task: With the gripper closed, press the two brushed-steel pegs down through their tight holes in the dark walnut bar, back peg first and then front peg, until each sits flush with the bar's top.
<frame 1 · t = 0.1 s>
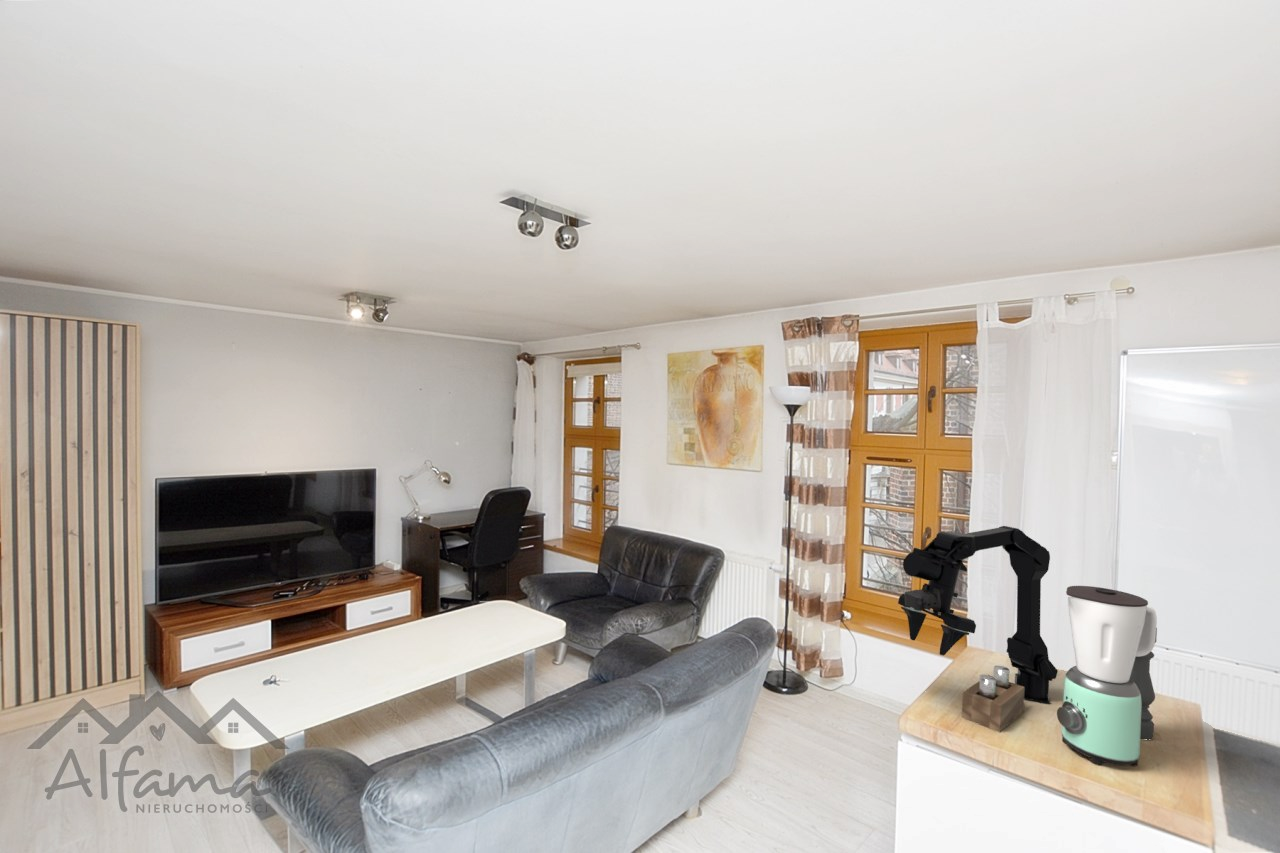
hand: (926, 647, 137), 15 cm above the worktop, tool pointing down, fingers open, 9 cm apart
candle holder: (1135, 733, 131), on the worktop
front peg: (987, 689, 134), point 7 cm above the worktop, slide at 4.0 cm
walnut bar: (993, 714, 137), on the worktop
back peg: (1001, 679, 140), point 7 cm above the worktop, slide at 4.0 cm
mint green blender: (1102, 753, 122), on the worktop
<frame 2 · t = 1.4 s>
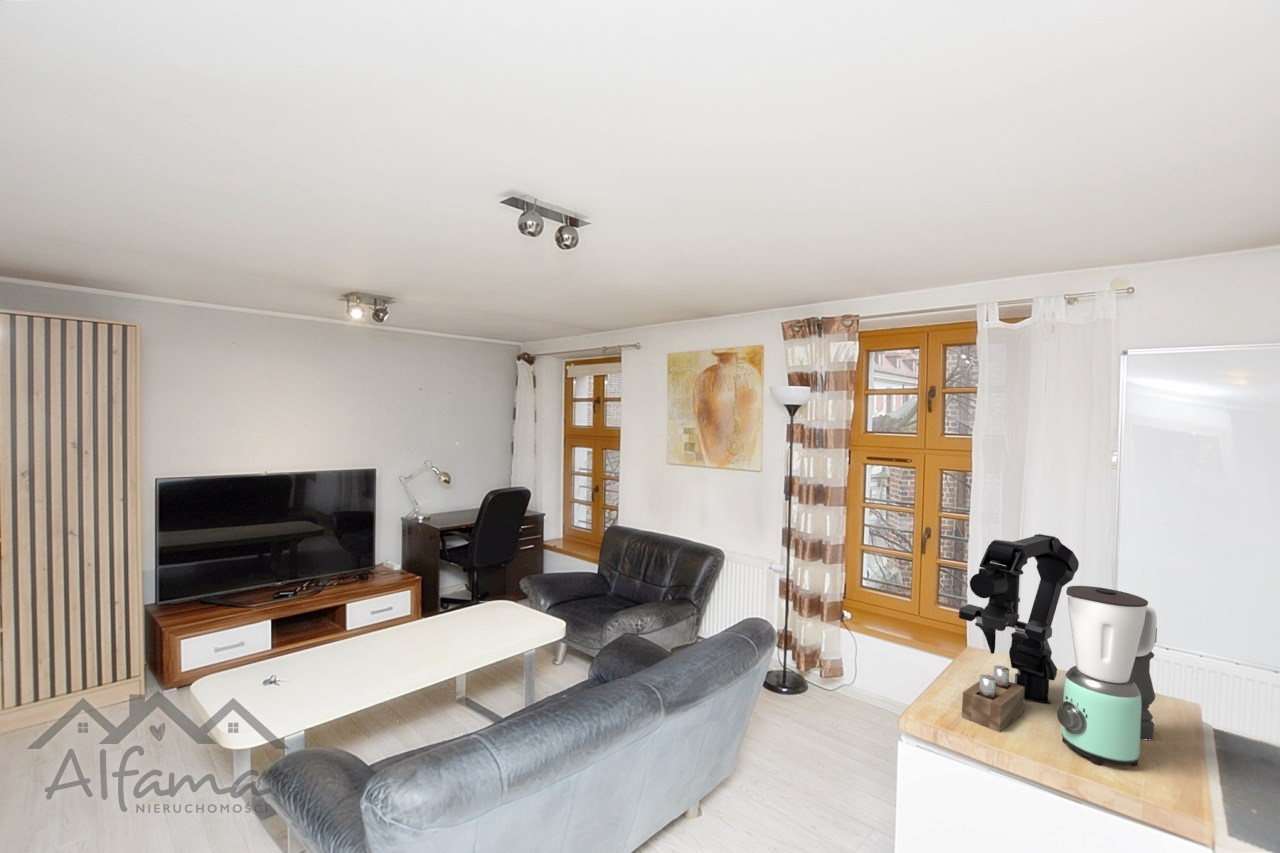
hand: (1002, 656, 140), 13 cm above the worktop, tool pointing down, fingers open, 4 cm apart
nothing on the worktop moved.
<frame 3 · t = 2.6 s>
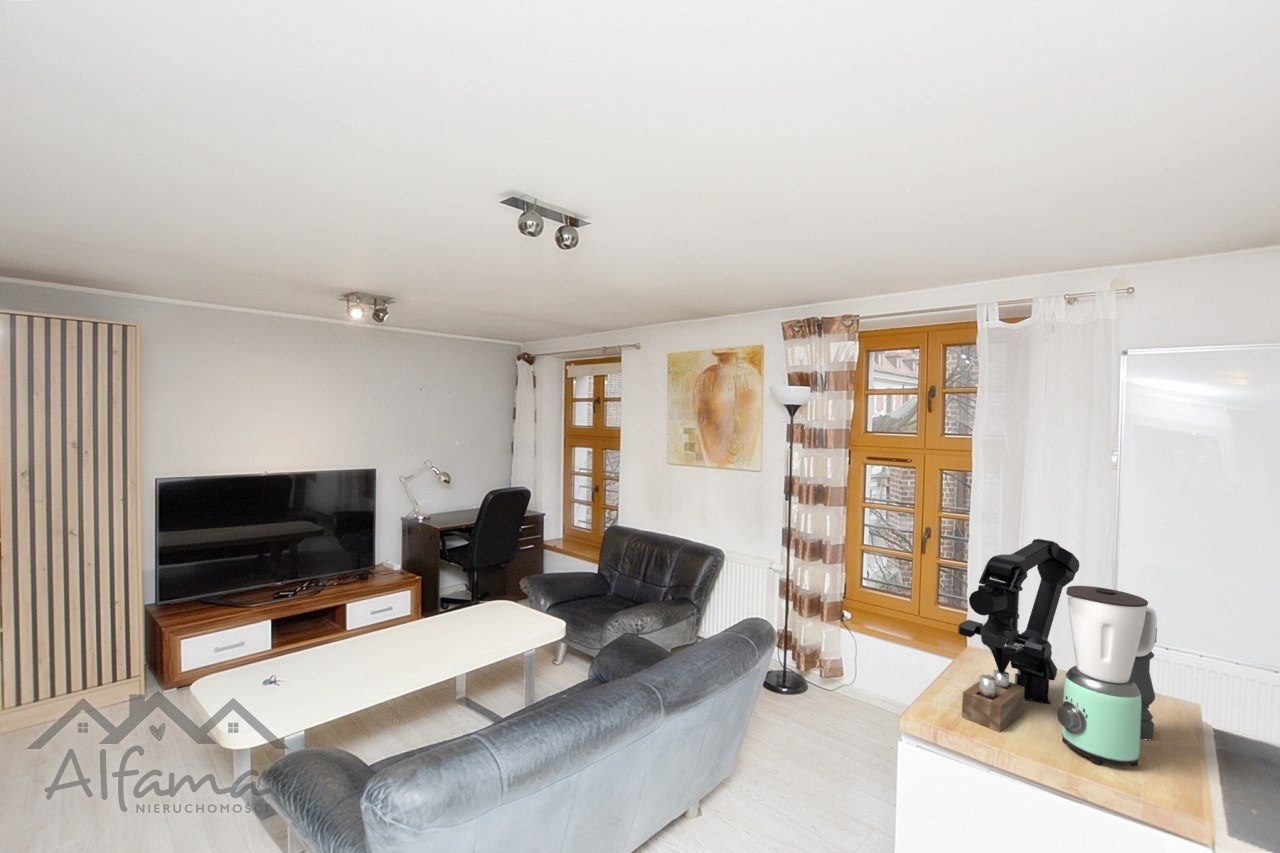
hand: (1001, 672, 140), 9 cm above the worktop, tool pointing down, fingers closed, pressing on back peg
back peg: (1000, 683, 140), point 6 cm above the worktop, slide at 2.9 cm, touching gripper
everything else where it was.
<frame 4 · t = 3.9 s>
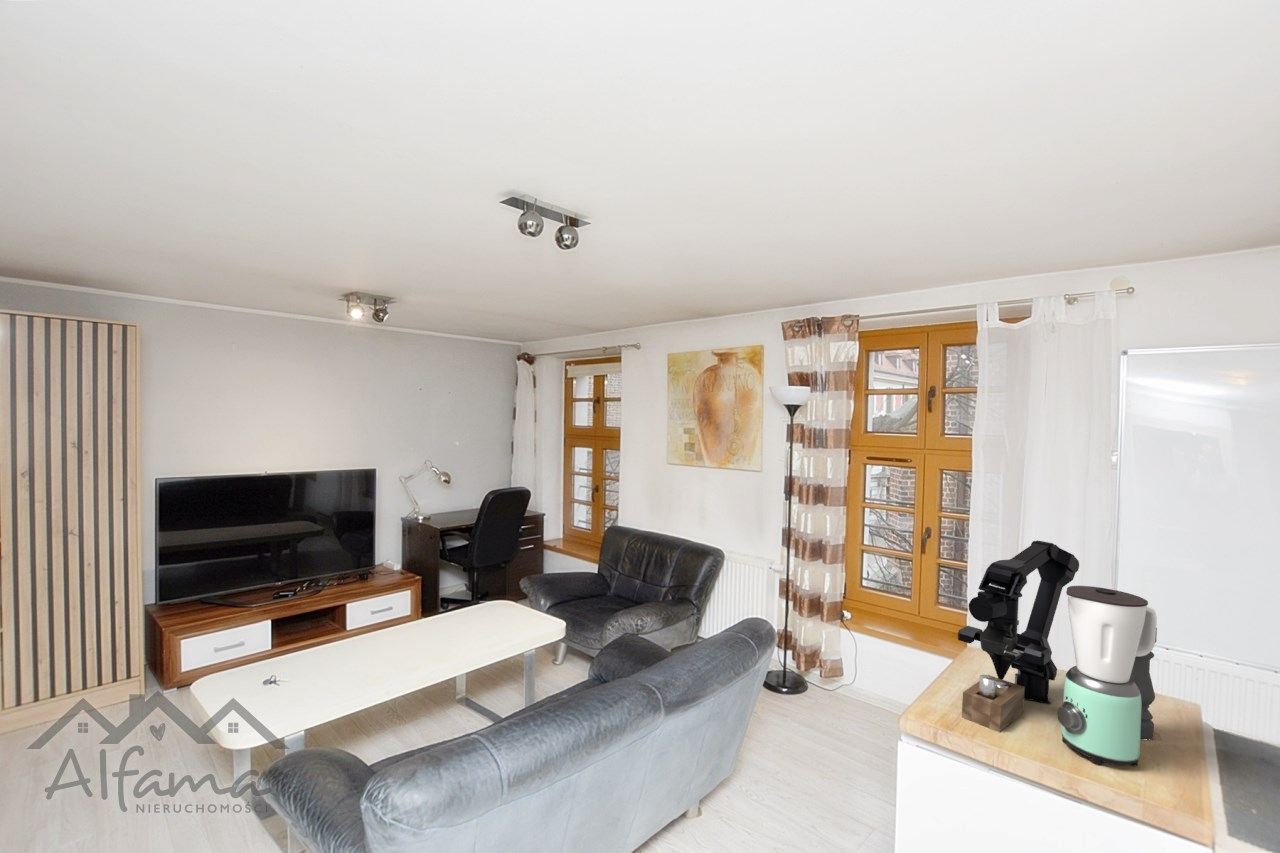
hand: (1000, 678, 140), 7 cm above the worktop, tool pointing down, fingers closed
back peg: (1000, 695, 140), point 3 cm above the worktop, slide at 0.0 cm
everything else where it was.
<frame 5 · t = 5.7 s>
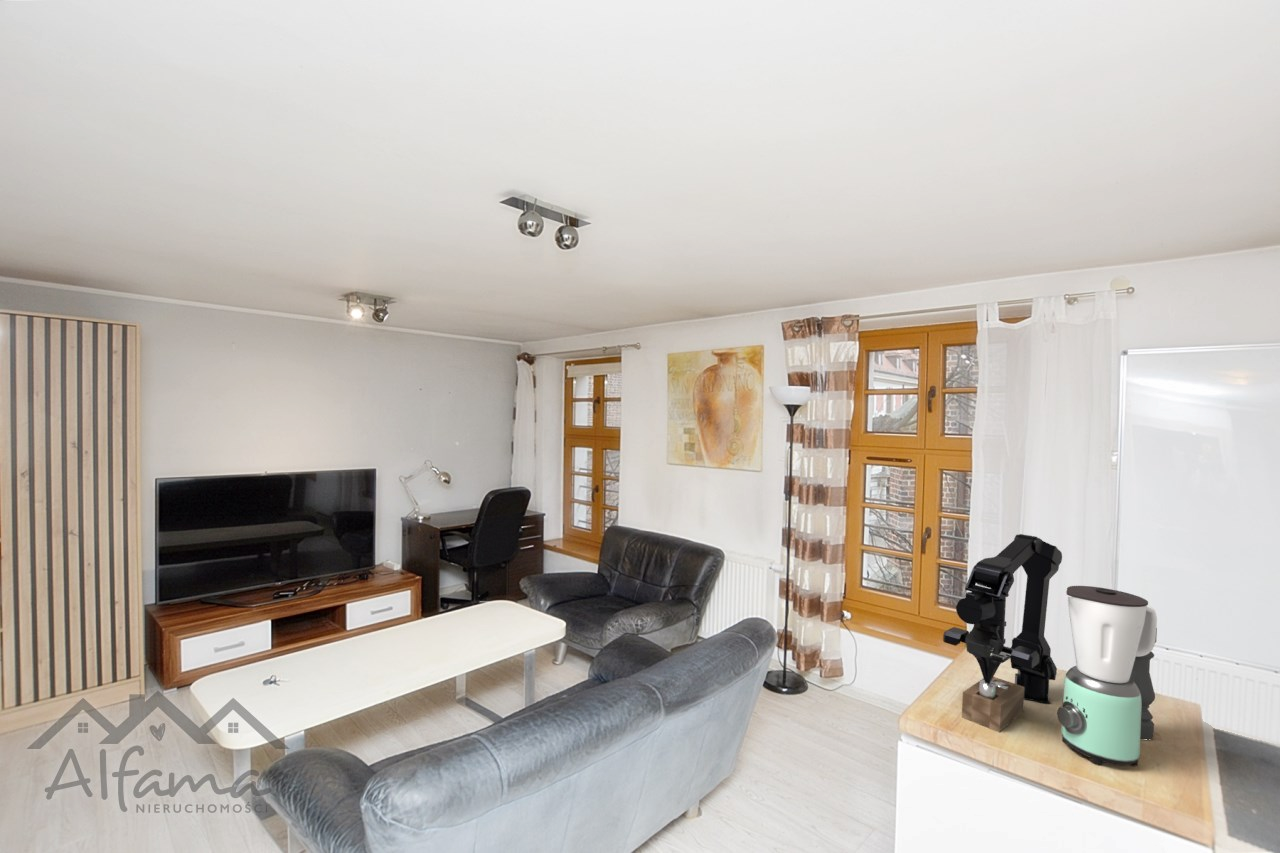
hand: (987, 682, 134), 9 cm above the worktop, tool pointing down, fingers closed, pressing on front peg
front peg: (987, 694, 134), point 6 cm above the worktop, slide at 2.9 cm, touching gripper
everything else where it was.
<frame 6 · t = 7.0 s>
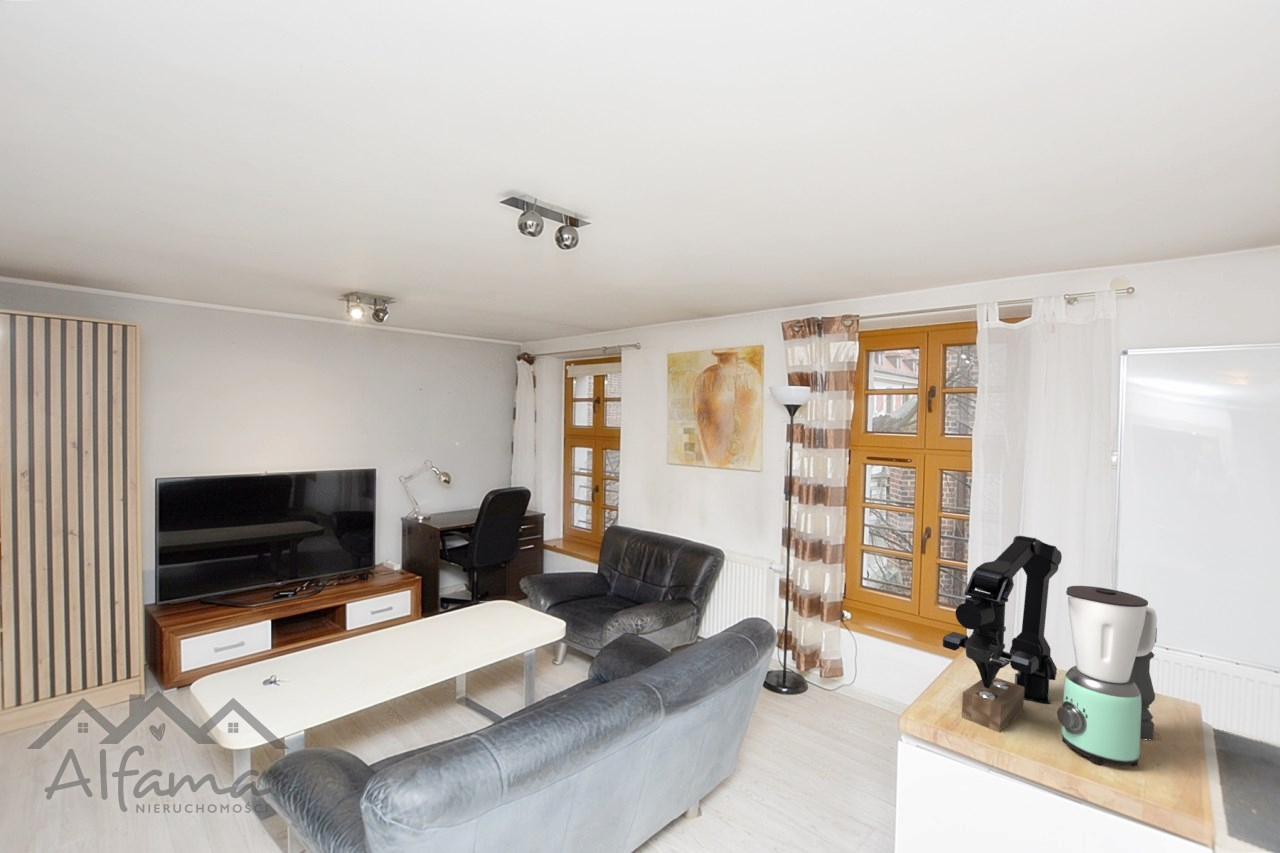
hand: (987, 687, 134), 8 cm above the worktop, tool pointing down, fingers closed
front peg: (986, 706, 134), point 3 cm above the worktop, slide at 0.1 cm
everything else where it was.
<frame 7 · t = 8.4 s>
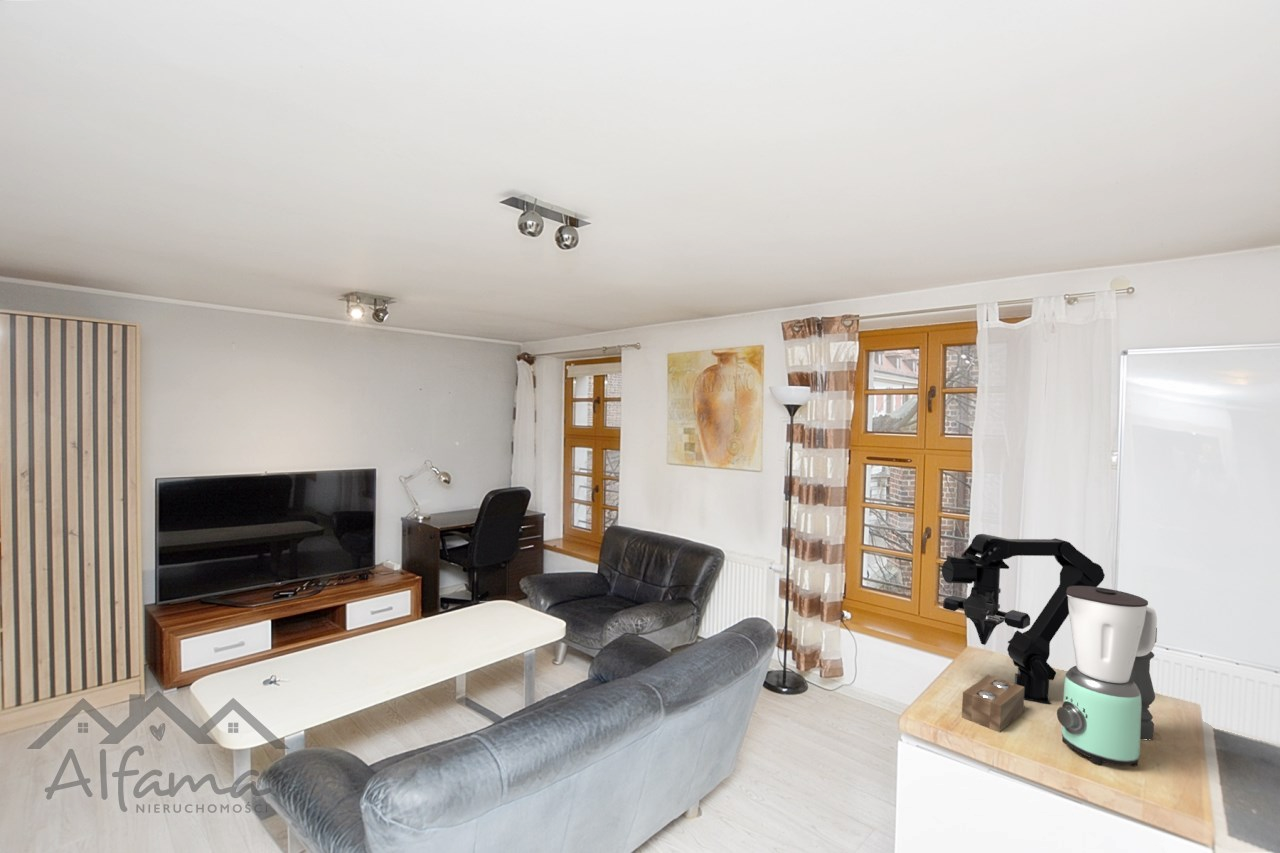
hand: (983, 644, 148), 13 cm above the worktop, tool pointing down, fingers closed
nothing on the worktop moved.
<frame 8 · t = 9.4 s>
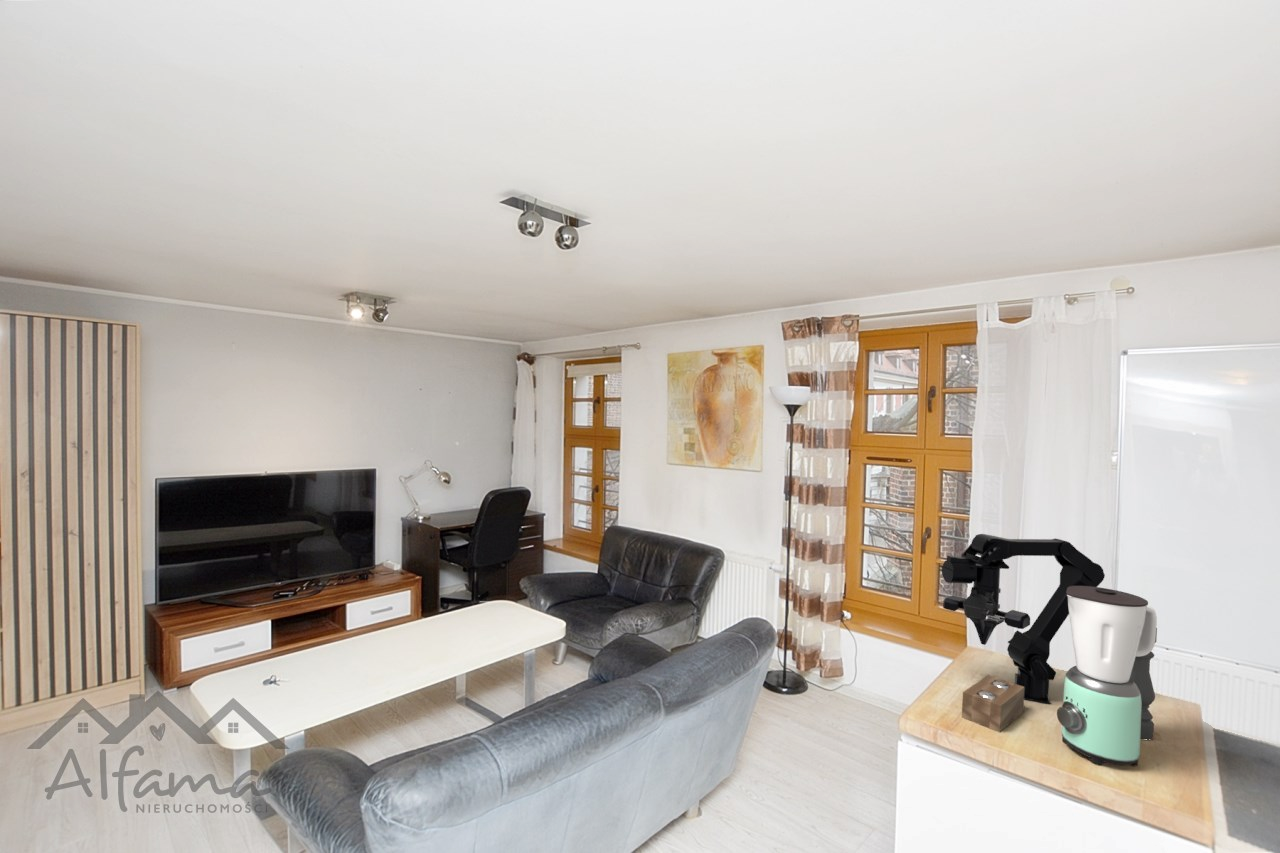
hand: (983, 644, 148), 13 cm above the worktop, tool pointing down, fingers closed
nothing on the worktop moved.
at the end: back peg slide at 0.0 cm; front peg slide at 0.1 cm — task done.
